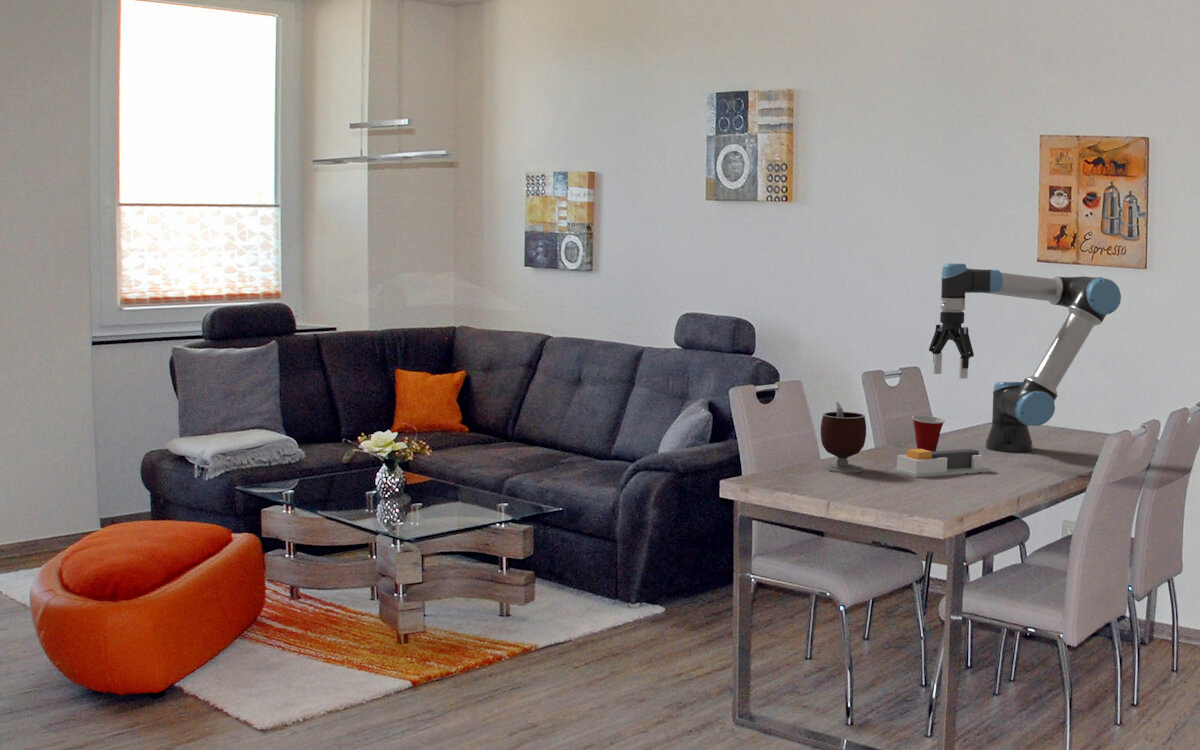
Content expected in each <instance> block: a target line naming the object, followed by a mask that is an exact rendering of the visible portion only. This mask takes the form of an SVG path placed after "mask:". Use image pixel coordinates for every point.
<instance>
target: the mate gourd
mask: <svg viewBox="0 0 1200 750" xmlns="http://www.w3.org/2000/svg"><path fill="white" fill-rule="evenodd" d="M835 404H836V405H835V406H836V411H827V412H823V413H822V418H821V423H820V439H821V440H820V441H821V444H822V446H823V448H824V450H825V451H826V452H827V453H829V454H831V455H833V456H835V457H836V458H837V460H836V463H826V464H824V465H822V466H821V468H822V467H823V468H824V469H826V470H829V471H828V472H830V471H834V472H833V473H838V472H840V473H841V474H853V473H854V474H855V473H860V472H863V466H860V465H858V464H852V463H849V460H848V458H850V457H852V456H854V455H858V454H859V453H860V452H861V451H862V450H863V448H864V446H865V443H866V437H867V422H866V417H865V416H866V415H865V414H863V413H860V412H854V411H853V412H850V411H844V410H843V407H842V406H841V404H840V402H839V401H836V402H835ZM826 470H825V471H826Z"/></svg>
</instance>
